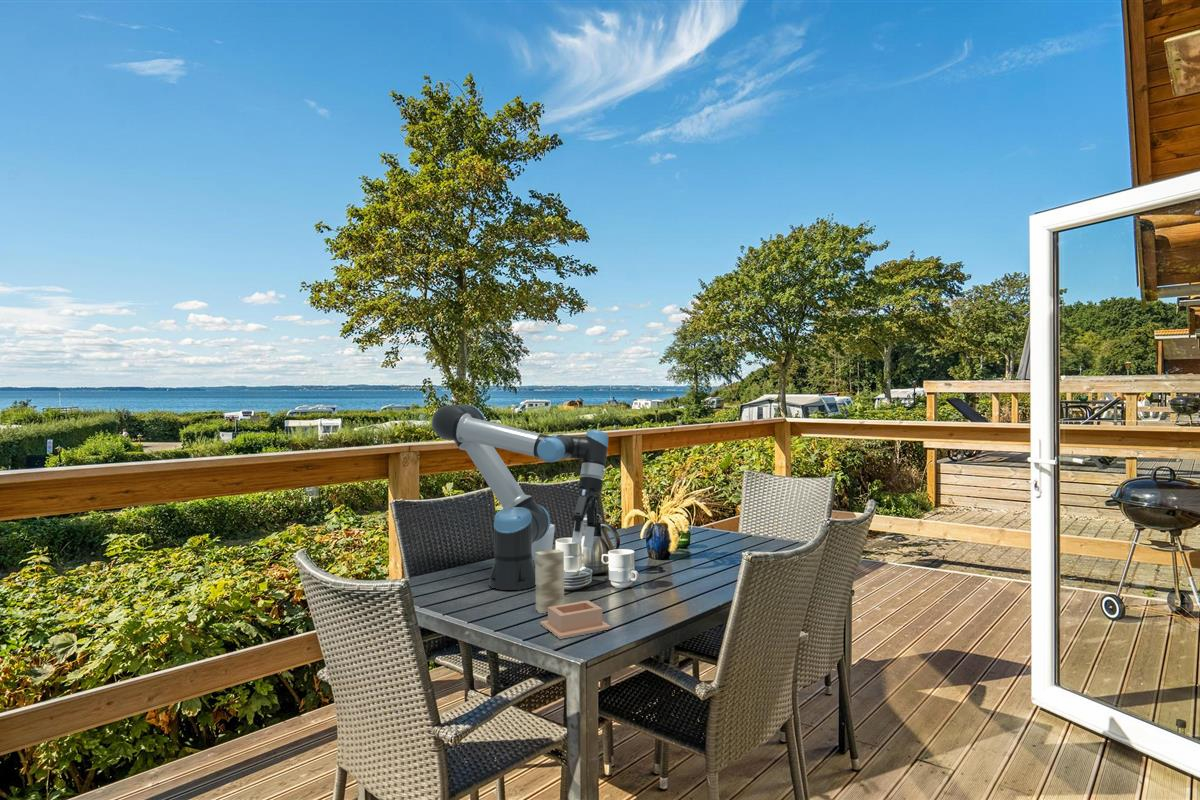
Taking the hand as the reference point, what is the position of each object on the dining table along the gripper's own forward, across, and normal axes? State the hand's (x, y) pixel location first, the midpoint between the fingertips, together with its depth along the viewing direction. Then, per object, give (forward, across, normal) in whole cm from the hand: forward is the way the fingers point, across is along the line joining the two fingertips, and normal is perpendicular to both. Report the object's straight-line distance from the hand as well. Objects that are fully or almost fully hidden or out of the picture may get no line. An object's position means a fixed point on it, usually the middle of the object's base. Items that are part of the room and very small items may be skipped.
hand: (582, 545), depth 199 cm
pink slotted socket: (+22, -32, -10) cm, 40 cm away
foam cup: (+6, +29, +22) cm, 37 cm away
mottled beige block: (+20, -20, +1) cm, 28 cm away
